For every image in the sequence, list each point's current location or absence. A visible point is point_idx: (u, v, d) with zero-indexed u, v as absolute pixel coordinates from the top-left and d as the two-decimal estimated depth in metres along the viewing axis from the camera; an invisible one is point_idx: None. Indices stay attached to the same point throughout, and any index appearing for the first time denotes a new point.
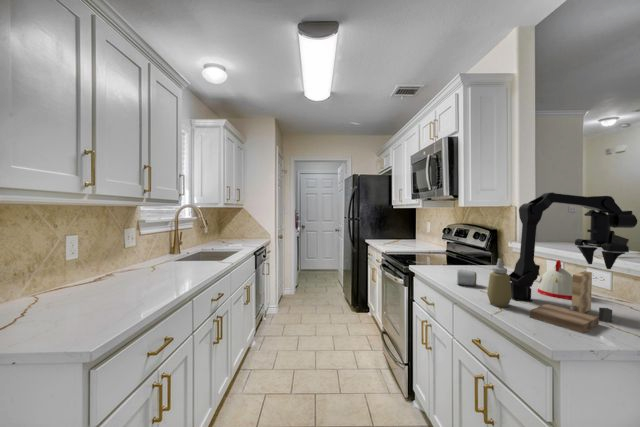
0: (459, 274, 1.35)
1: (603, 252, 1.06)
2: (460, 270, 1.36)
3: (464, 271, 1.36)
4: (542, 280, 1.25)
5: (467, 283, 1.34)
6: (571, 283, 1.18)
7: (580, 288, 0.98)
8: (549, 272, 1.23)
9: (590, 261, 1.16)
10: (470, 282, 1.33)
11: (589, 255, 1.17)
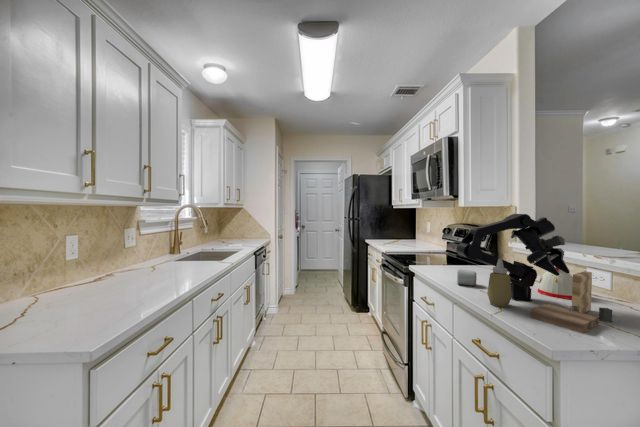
0: (459, 274, 1.35)
1: None
2: (460, 270, 1.37)
3: (464, 271, 1.36)
4: (542, 280, 1.25)
5: (467, 283, 1.34)
6: (571, 283, 1.18)
7: (580, 288, 0.98)
8: (549, 272, 1.23)
9: (565, 270, 1.08)
10: (470, 282, 1.34)
11: (560, 265, 1.10)
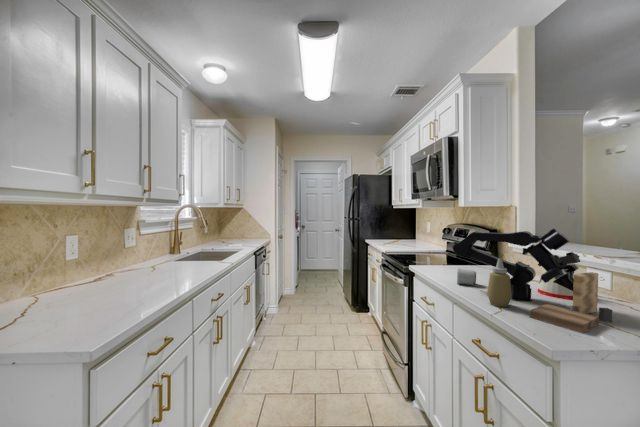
0: (459, 273, 1.36)
1: None
2: (460, 269, 1.38)
3: (464, 270, 1.37)
4: (542, 280, 1.25)
5: (467, 282, 1.35)
6: None
7: (582, 289, 0.98)
8: None
9: None
10: (470, 281, 1.34)
11: None
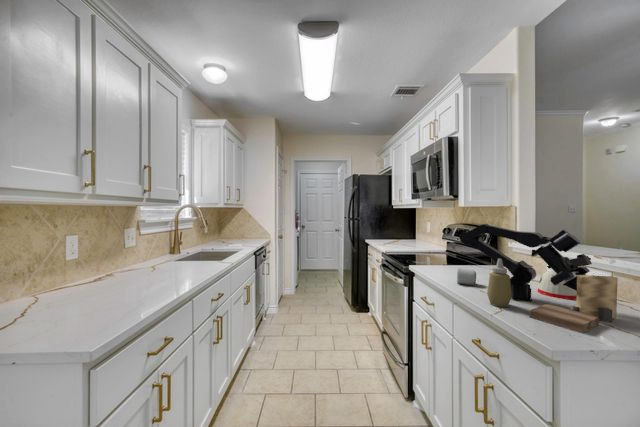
0: (459, 273, 1.37)
1: None
2: (460, 269, 1.38)
3: (464, 270, 1.37)
4: (542, 280, 1.25)
5: (467, 282, 1.36)
6: None
7: (584, 290, 0.97)
8: (549, 272, 1.23)
9: None
10: (470, 281, 1.35)
11: None
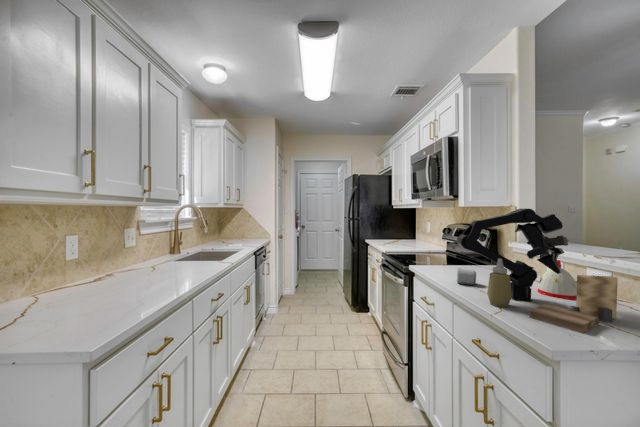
0: (459, 273, 1.37)
1: None
2: (460, 269, 1.38)
3: (464, 270, 1.37)
4: (542, 280, 1.25)
5: (467, 282, 1.36)
6: (571, 283, 1.18)
7: (584, 290, 0.97)
8: (549, 272, 1.23)
9: None
10: (470, 281, 1.35)
11: None
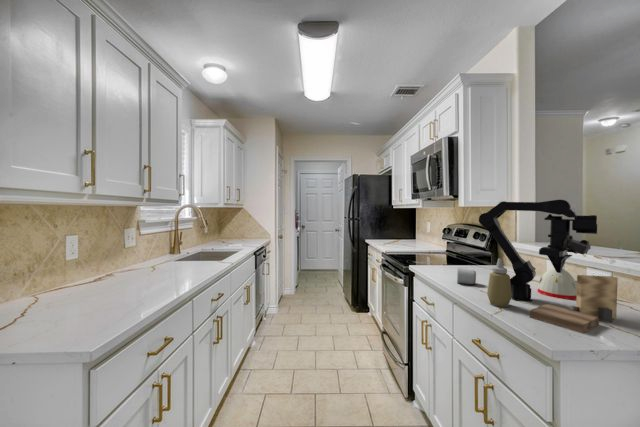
0: (459, 273, 1.38)
1: None
2: (460, 269, 1.39)
3: (464, 270, 1.38)
4: (542, 280, 1.25)
5: (467, 282, 1.36)
6: (571, 283, 1.18)
7: (584, 290, 0.97)
8: (549, 272, 1.23)
9: None
10: (470, 281, 1.35)
11: None
